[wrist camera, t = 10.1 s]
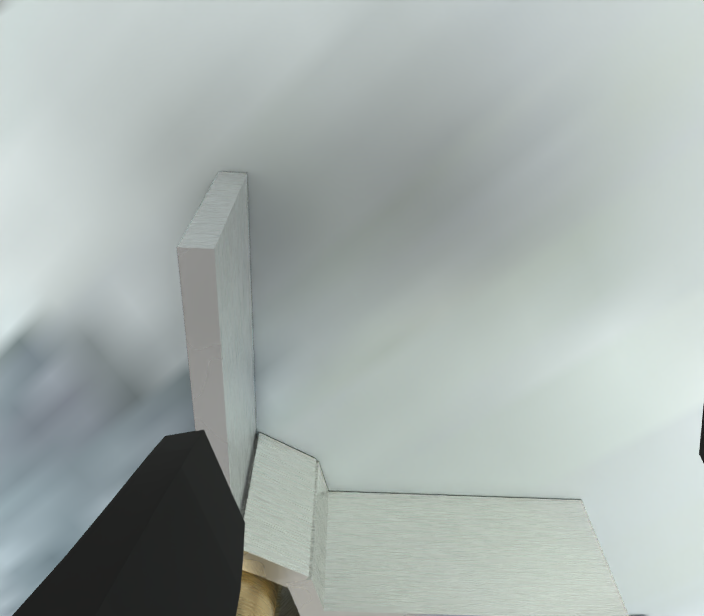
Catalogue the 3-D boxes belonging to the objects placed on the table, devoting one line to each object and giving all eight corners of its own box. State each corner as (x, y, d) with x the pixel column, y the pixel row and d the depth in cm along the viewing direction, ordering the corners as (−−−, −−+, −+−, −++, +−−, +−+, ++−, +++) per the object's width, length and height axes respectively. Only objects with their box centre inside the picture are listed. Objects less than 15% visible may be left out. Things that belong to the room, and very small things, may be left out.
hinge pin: (293, 449, 23) (263, 650, 17) (312, 524, 25) (292, 730, 19) (188, 460, 24) (118, 660, 17) (215, 533, 26) (163, 737, 19)
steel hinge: (565, 97, 17) (639, 154, 13) (582, 513, 25) (630, 634, 21) (20, 213, 18) (-79, 299, 14) (204, 568, 27) (175, 689, 22)
